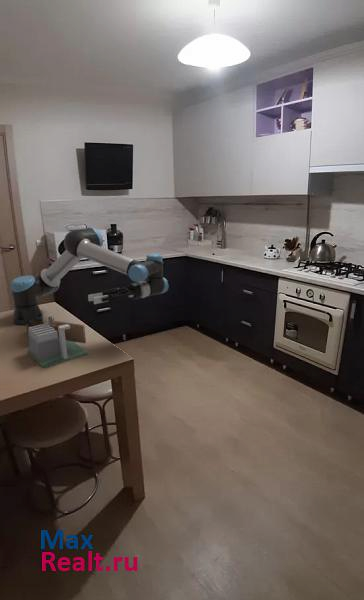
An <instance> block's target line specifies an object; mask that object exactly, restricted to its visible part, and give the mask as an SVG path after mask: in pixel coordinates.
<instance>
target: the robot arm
mask: <svg viewBox="0 0 364 600" xmlns="http://www.w3.org/2000/svg"><path fill="white" fill-rule="evenodd" d="M103 243H104V240H103V234H102V233H101V232H100V230H99V229H97V228H95V227H87V228H80V229H73V230H70V231H69V232H67V234H65V236H64V239H63V245H64V249H65V250H64V251H63V253H61V255H60V256H58V258H57V259H56V260H55V261H54V262H53V263H52V264H51V265H50V266H49V267H48V268H43V269H42V270H41V271H40V272H39V273H38V274H37V275H35V276H33V275H23V276H22V275H21V276H17V277H16V278H14V279H13V280H11V283H10V286H11V293H12V299H13V305H14V309H13V314H12V323H13V324H15V325H22V326H24V325H25V326H27V324H26V322H28V321H30V320H33V321H34V320H43V321H44V314H43V311H42V310H41V308H40V306H39V303H38V299H39V298H41V297H44V296H48V295H51V294H53V293H55V292H56V291H58V290H59V288H60V284H61V279H62V278H64V276H65V275H66V274H67V273H68V272H69V271H71V270H72V268H74V266H75V265H77V264H78V262H80V261H81V260H82V259H88V260H89V261H92V262H95V263H97V264H99V265H101V266H104V267H107V268H110V269H111V270H114V271H116V272H119V273H121V274H124V275H126V276H128V278H129V279H130V280H131V281H132V283H129V284H127V287H115V288H111V289H105V290H100V292H97V293H91V294H88V296H87V299H88V302H93V304H94V305H97V304H102V303H103V304H104V303H106V302H112V303H116V302H121V301H126V300H138V299H145V298H146V297H151V296H156V295H157V296H158V295H162V294H164V293H167V291H168V290H169V283H168V280H167V278H165V277H164V266H163V264H164V263H163V262H164V261H163V256H162V254H160V253H149V254H146V259H145V261H143V262H141V261H139V260H135V259H133V258H131V257H128V256H126V255H123V254H120V253H119V252H115V251H113V250H110V249H108V248H106V247H103Z"/></svg>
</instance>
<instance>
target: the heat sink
mask: <svg viewBox="0 0 364 600" xmlns="http://www.w3.org/2000/svg"><path fill="white" fill-rule="evenodd" d="M28 329H29V334H28V333H27V335H28V343H29V349H27V352H28V354H29V355H31V357H32V358H33V359H34V360H35V362H37V364H39V366H40V367H41V368H43V369H44V368H47V367H50V366H54V365H57V364H61V363H64V362H68V361H70V360H73V359H77V358H80V357H85V356H87V355H89V352H88V351H87V350H85V349H84V348H83V347H82V346H80V344H78V343H77V342H73V341H67V340H66V339H65V329H70V325H68V324H66V325H61V326H58V331H59V338H58V334H57V331H55V329H53V327H50V325H49V322H48V323H44V324H42V325H38V326H34V327H29V328H28Z"/></svg>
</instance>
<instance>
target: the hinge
mask: <svg viewBox="0 0 364 600" xmlns="http://www.w3.org/2000/svg"><path fill="white" fill-rule="evenodd" d="M47 320H48V325H50V327H53V329H55V331H57V334H58V338H59V331H58V326H61V325H66V324H68V325H70V329H65V339H66V340H67V341H73V342H75V343H80V344H86V343H87V340H86V338H87V337H86V331H85V324H78V323H74V322H72V323H71V322H65V321H60V320H55V317H54V316H49V317H47Z"/></svg>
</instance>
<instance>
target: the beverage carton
mask: <svg viewBox="0 0 364 600" xmlns="http://www.w3.org/2000/svg"><path fill="white" fill-rule="evenodd" d="M26 324H27V325H26V331H27V335H28V334H29V329H28V328H29V327H34V326H38V325H42V324H45V322H44V319H43V320H34V321H33V320H30V321H28V322H26Z"/></svg>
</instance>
